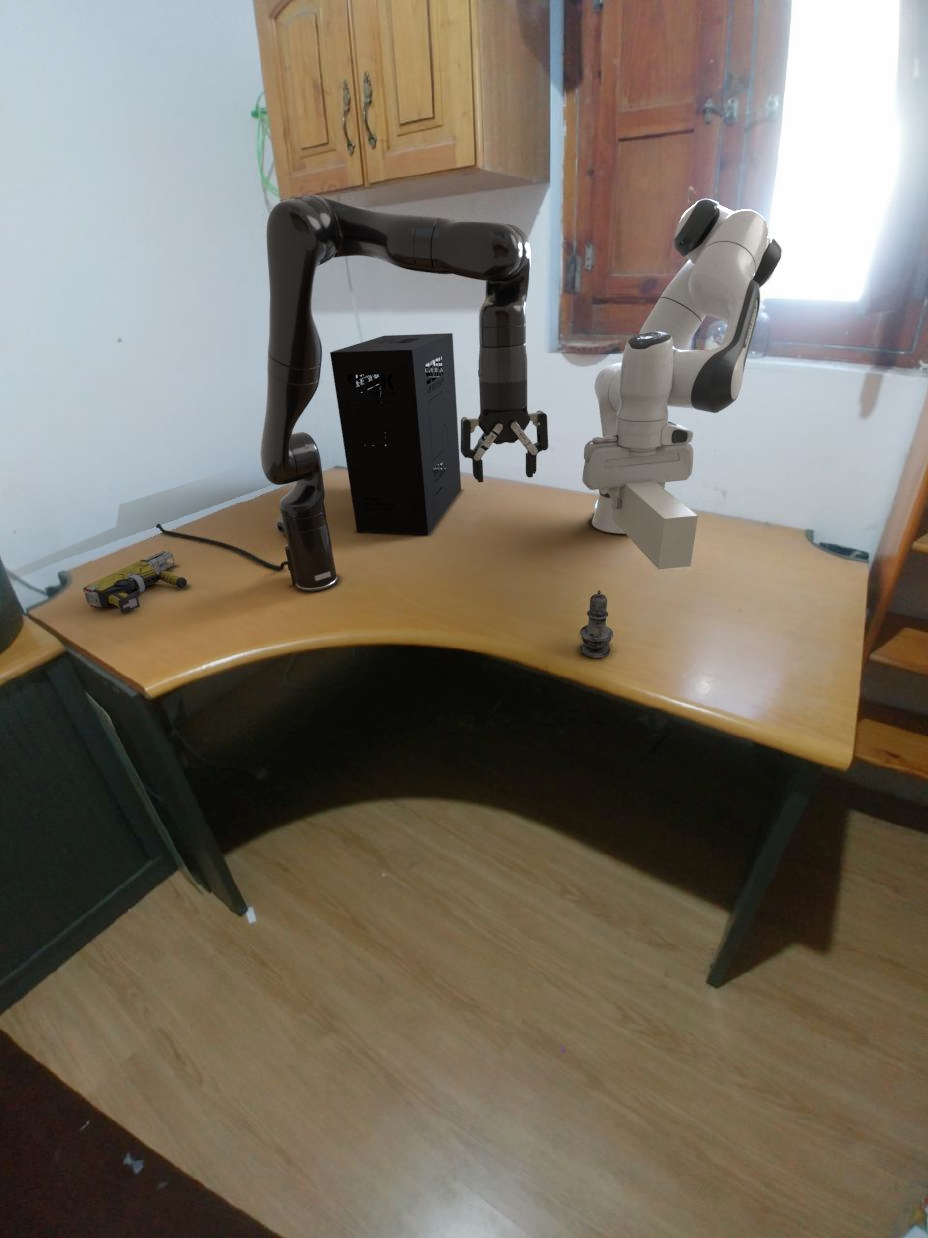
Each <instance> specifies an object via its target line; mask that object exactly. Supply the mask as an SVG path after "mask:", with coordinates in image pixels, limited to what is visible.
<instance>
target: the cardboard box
mask: <svg viewBox="0 0 928 1238" xmlns="http://www.w3.org/2000/svg"><path fill="white" fill-rule="evenodd" d="M454 353H455V352H454V334H453V332H451V333H450V332H447V333H420V334H419V333H417V334H416V333H415V334H391V335H388V334H387V335H382V336H381V335H380V336H378V337H375V338H372V339H368V340H365V341H361V342H359V343H356V344H353V345H349V346H345V347H343V348H342V347H341V348H339V349H336V350H333V351H330V352H329V355H330V361H331V362H330V363H331V369H332V375H333V381H334V382H333V383H334V388H335V396H336V401H337V408H338V415H339V422H340V426H341V427H340V429H341V436H342V441H343V449H344V456H345V461H346V468H347V475H348V481H349V482H348V483H349V488H350V495H351V496H350V497H351V501H352V508H353V515H354V522H355V528H356V532H358V533H379V534H402V535H406V534H407V535H425V536H426V535H427V536H428V535H430V534H431V532H432V530H433V529H434V527H435V526H436V525H437V523H438V522H439V521H440V519H441V518H442V516H443V515H444V514H445V513H446V511H447V509H448V508H449V507H450V506H451V504H452V503H453V501H454V500H455V499H456V498H457V496H458V495H459V493H460V492H461V491H462V481H461V461H460V443H459V427H458V426H459V425H458V409H457V391H456V390H457V389H456V388H457V387H456V371H455V356H454V355H455V354H454ZM433 361H434V363H433Z"/></svg>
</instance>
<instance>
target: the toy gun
mask: <svg viewBox="0 0 928 1238" xmlns="http://www.w3.org/2000/svg"><path fill="white" fill-rule="evenodd" d="M170 559H172V562H169V561H168V560H170ZM175 565H176V563H175V557H174V553H172V552H171V551H167V550H162V551H159V552H158V553H155V554H154V555H151V556H149V557H148V558H145V559H140V560H139V561H136V562H134V563H132V564H130V565H128V566H126V567H124V568H121V569H119V570H117V571H115V572H113V573H110V574H109V575H106V576H104V577H102V578H100V579H98V580H95V581H94V582H91V583H89V584H87V585H85V586H84V587H83V588H82V590H83V594H84V596H85V601H86V603H87V604H88V605H89V606H90V607H91V608H94V609H97V608H107V607H108V608H109V607H112V606H116V607H118V608H119V610H120V614H121V615H122V614H123V615H124V614H127V613H129V612H131V611H133V610H135V609H138V608H140V607H141V606H140V602H139V597H138V595H140V594H142V593H144V592H145V591H146V588H147V587H149V586H151V585H154V584H157V583H159V581H163V582H165V583H168V584H169V585H172V586H176V587H177V588H178V589H183V588H186V587H187V586H188V580H187V579H186V578H185V577H183V576H180V575H176V574H174V573H172V572H170V571H167V570H169V569H170V568H172V567H175Z"/></svg>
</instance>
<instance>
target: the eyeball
mask: <svg viewBox="0 0 928 1238" xmlns="http://www.w3.org/2000/svg"><path fill="white" fill-rule="evenodd" d="M275 527H276V529H277V530H278V531H279V532H280V533H281V534H282V535H286V534H285V529H284V525H283V520H282V515H281V513H280V514H279V515H278V516H277V517H276V520H275Z"/></svg>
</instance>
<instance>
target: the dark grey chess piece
mask: <svg viewBox="0 0 928 1238" xmlns="http://www.w3.org/2000/svg"><path fill="white" fill-rule="evenodd" d="M607 608H608V598H607V596H606V595H605V594H603V593H602V590H600V589H599V590H597V591H596V593H595V594H592V595H590V599H589V609H588V610H587V612H586V615H587V617H588V620H587V621H588V622H587V624H586V625H584V626H582V627H581V628H579V636H580V638H581V641H582V644H581V645H580V648H579V649H580V652H581V653H582V654H583V655H585V656H587V657H589V658H594V659H597V658H604V657H607V656H609V654H610V653H611V647H610V646H609V644H610V643H611V640H612V638H614V631H613V629H611V628H610V627H609V626H607V618H608V617H609V612H608V611H607Z"/></svg>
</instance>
